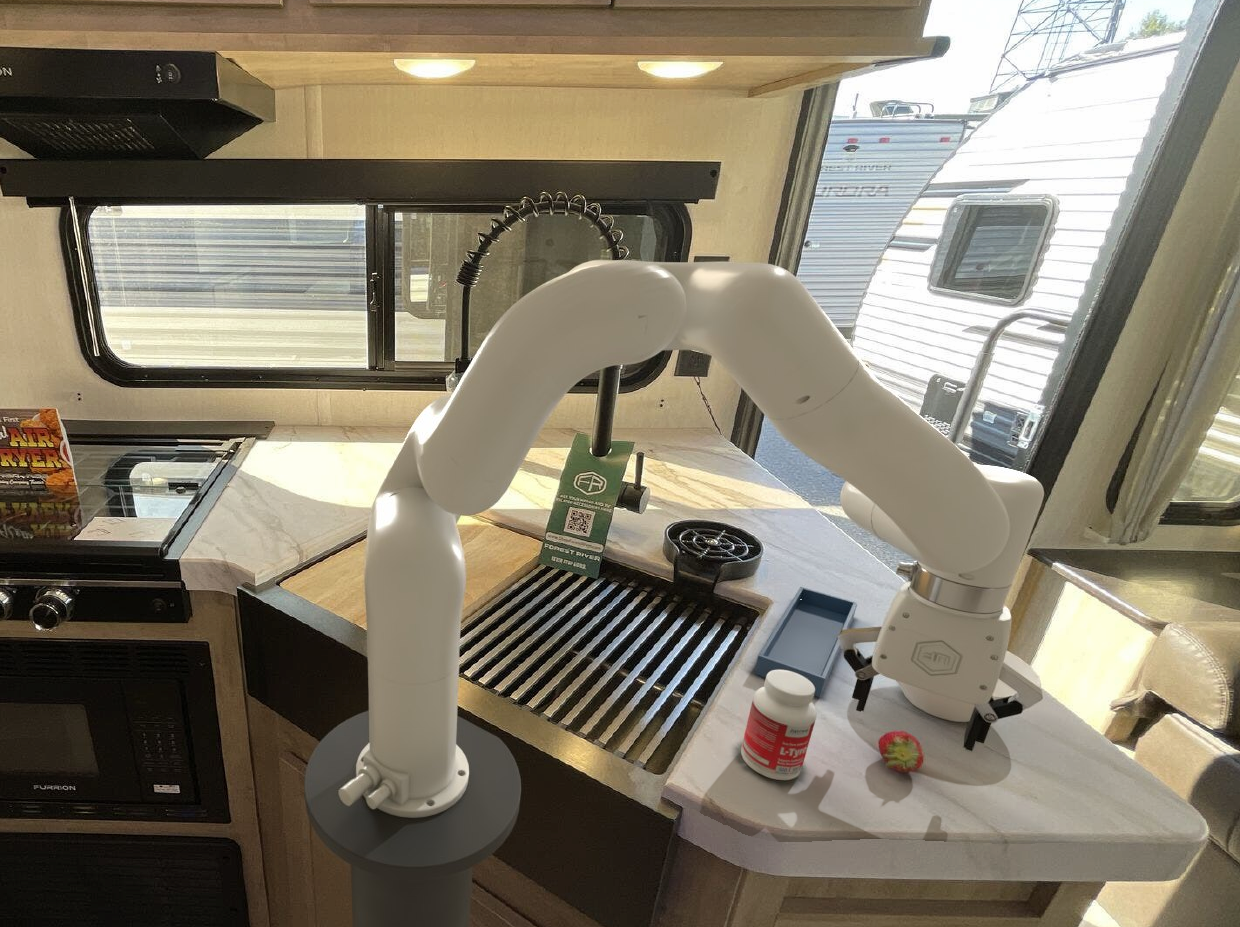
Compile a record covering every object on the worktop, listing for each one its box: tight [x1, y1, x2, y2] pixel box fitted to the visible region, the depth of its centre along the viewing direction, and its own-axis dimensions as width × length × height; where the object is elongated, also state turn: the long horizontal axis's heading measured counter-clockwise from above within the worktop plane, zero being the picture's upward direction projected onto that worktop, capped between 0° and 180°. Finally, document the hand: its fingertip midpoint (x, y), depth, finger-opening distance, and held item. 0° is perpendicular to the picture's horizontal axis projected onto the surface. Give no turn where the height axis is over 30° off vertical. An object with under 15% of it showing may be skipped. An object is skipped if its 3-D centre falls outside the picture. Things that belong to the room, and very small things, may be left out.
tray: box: [753, 586, 858, 699], centre depth 97 cm, size 26×8×3 cm, turn 139°
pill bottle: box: [740, 670, 818, 781], centre depth 73 cm, size 6×6×11 cm
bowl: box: [895, 650, 1042, 723], centre depth 84 cm, size 16×16×7 cm
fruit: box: [877, 730, 925, 773], centre depth 74 cm, size 4×6×5 cm
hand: (912, 723), depth 73 cm, fingers open, 9 cm apart
